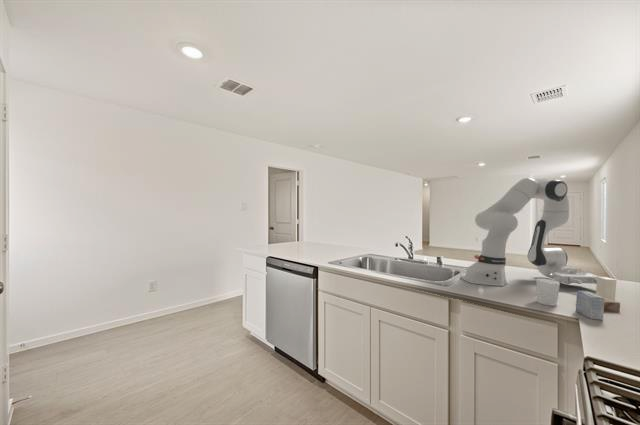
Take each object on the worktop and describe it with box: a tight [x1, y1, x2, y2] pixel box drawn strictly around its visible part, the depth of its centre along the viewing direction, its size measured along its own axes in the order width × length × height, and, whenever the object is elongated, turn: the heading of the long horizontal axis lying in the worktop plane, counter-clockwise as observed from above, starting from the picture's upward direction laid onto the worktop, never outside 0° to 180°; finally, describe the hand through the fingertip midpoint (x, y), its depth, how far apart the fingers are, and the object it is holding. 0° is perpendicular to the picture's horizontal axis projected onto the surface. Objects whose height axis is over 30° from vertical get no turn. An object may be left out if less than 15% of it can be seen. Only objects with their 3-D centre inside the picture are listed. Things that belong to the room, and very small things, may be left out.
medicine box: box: [575, 290, 605, 321], centre depth 107 cm, size 8×4×9 cm, turn 168°
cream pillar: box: [595, 276, 617, 301], centre depth 127 cm, size 4×4×10 cm
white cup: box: [535, 277, 561, 307], centre depth 120 cm, size 8×8×10 cm
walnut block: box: [598, 295, 621, 312], centre depth 117 cm, size 9×9×4 cm
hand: (590, 282), depth 134 cm, fingers open, 8 cm apart
